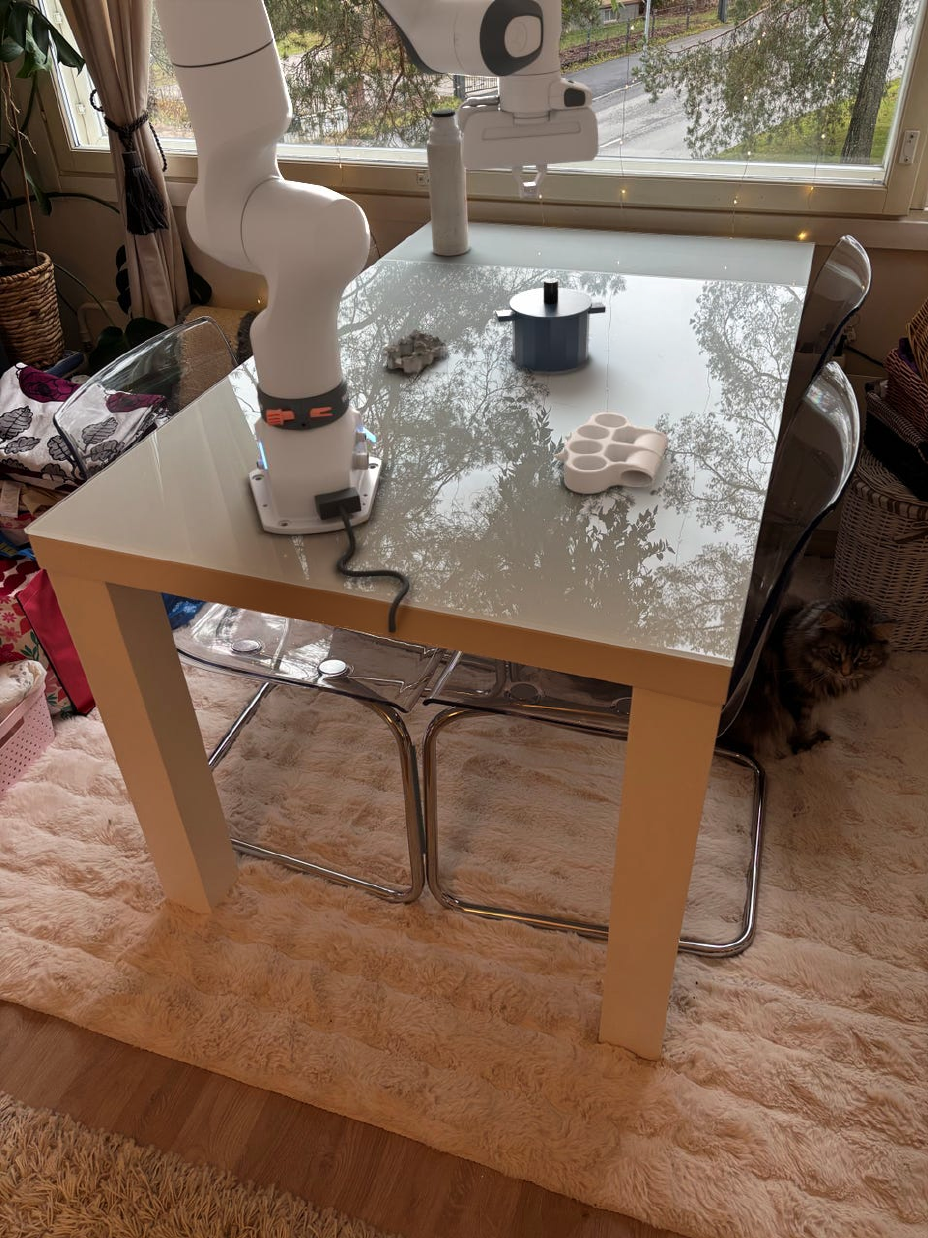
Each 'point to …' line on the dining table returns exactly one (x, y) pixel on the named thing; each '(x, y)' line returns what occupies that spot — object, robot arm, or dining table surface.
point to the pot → (550, 340)
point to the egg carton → (422, 347)
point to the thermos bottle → (447, 185)
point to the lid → (550, 302)
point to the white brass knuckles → (611, 454)
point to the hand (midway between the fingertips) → (529, 196)
